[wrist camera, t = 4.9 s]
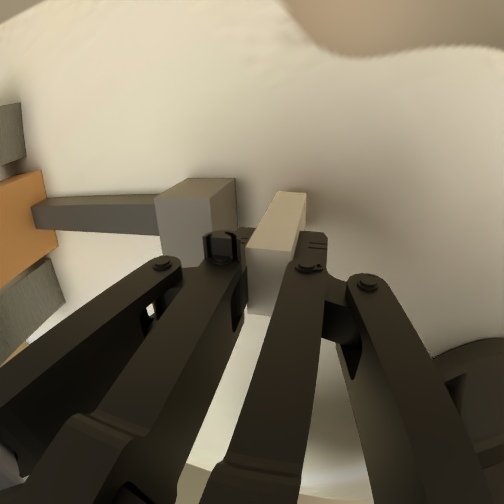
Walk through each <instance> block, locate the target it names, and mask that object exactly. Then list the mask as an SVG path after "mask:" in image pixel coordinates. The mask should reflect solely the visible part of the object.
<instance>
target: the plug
mask: <svg viewBox="0 0 504 504" xmlns="http://www.w3.org/2000/svg"><path fill="white" fill-rule="evenodd" d="M54 230H63V231H82V232H101V233H119V234H137V235H154V236H160V241H161V246H162V252H163V256H165V255H168V256H174V257H177V258H179V260H180V261H181V265H182V268H187V267H198V266H199V265H200V263H201V262H202V261H203V259H204V249H203V239H202V236H204V235H205V234H207V233H209V232H212V231H218V230H229V231H234V232H235V231H237V230H238V229H237V212H236V195H235V178H187V179H185V180H184V181H182V182H180V183H178V184H177V185H175V186H173V187H172V188H170V189H168V190H167V191H165V192H163V193H162V194H139V195H103V196H79V197H60V198H46V193H45V188H44V183H43V178H42V172H41V171H35V172H30V173H24V174H19V175H14V176H11V177H9V178H7V179H4V180H2V181H0V288H1V287H3V286H4V285H5V284H7V283H8V282H9V281H10V280H12V279H13V278H14V277H16V276H17V275H18V274H20V273H21V272H22V271H24V270H25V269H26V268H28V267H29V266H31V265H32V264H33V263H35V262H36V261H38V260H39V259H40V258H42V257H43V256H45V255H46V254H48V253H49V252H50V251H52V250H53V249H55V248H56V247H58V242H57V239H56V235H55V231H54Z"/></svg>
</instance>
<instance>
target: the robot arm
mask: <svg viewBox="0 0 504 504" xmlns="http://www.w3.org/2000/svg"><path fill="white" fill-rule="evenodd" d="M306 196H307V193H299V192H283V191H277V193H276V195H275V196H274V198H273V200H272V202H271V203H270V205H269V207H268V209H267V210H266V212H265V214H264V215H263V217H262V219H261V221H260V222H259V224H258V226H257V228H246V227H242V228H240V229H238V230H237V231H235V232H234V231H229V230H218V231H212V232H209V233H207V234H205V235H204V236H202V239H203V249H204V259H203V261H202V262H201V263H200V265H199V266H198V267H187V268H182V265H181V261H180V260H179V258H177V257H174V256H168V255H165V256H159V257H157V258H154V259H152V260H150V261H148V262H147V263H145V264H143V265H142V266H140V267H139V268H137V269H136V270H134V271H133V272H131V273H130V274H128V275H127V276H126V277H124V278H123V279H121V280H120V281H118V282H117V283H115V284H114V285H112V286H111V287H109V288H108V289H106V290H105V291H104V292H102V293H101V294H99V295H98V296H96V297H95V298H93V299H92V300H91V301H89V302H88V303H86V304H85V305H83V306H82V307H81V308H79V309H78V310H76V311H75V312H74V313H72V314H71V315H69V316H68V317H67V318H65V319H64V320H62V321H61V322H60V323H58V324H57V325H56V326H54V327H53V328H51V329H50V330H49V331H47V332H46V333H45V334H43V335H42V336H41V337H39V338H38V339H37V340H35V341H34V342H33V343H31V344H30V345H29V346H27V347H26V348H25V349H23V350H22V351H21V352H19V353H18V354H17V355H16V356H14V357H13V358H12V359H10V360H9V361H8V362H6V363H5V364H4V365H3V366H1V367H0V504H175V502H176V497H177V483H178V479H179V477H180V474H181V472H182V470H183V468H184V465H185V463H186V461H187V458H188V456H189V454H190V451H191V449H192V447H193V444H194V442H195V440H196V437H197V435H198V433H199V430H200V428H201V426H202V423H203V421H204V418H205V416H206V414H207V411H208V409H209V407H210V404H211V402H212V399H213V397H214V395H215V392H216V390H217V387H218V385H219V382H220V380H221V378H222V375H223V373H224V370H225V368H226V365H227V363H228V361H229V358H230V356H231V353H232V351H233V348H234V346H235V343H236V341H237V338H238V336H239V333H240V331H241V328H242V326H243V324H244V309H245V307H246V304H247V307H248V314H256V315H264V316H271V320H270V323H269V326H268V329H267V333H266V336H265V339H264V342H263V345H262V349H261V352H260V355H259V358H258V361H257V364H256V367H255V370H254V373H253V377H252V380H251V383H250V386H249V389H248V392H247V395H246V398H245V401H244V404H243V407H242V410H241V413H240V416H239V418H238V421H237V424H236V427H235V430H234V433H233V436H232V439H231V442H230V444H229V447H228V450H227V453H226V455H225V457H224V459H223V460H222V461H221V462H219V463H217V464H216V466H215V467H214V469H213V470H212V472H211V475H210V477H209V479H208V481H207V484H206V487H205V489H204V492H203V494H202V497H201V499H200V502H199V504H297V500H298V495H299V490H300V485H301V474H302V468H303V462H304V457H305V451H306V446H307V440H308V434H309V428H310V421H311V415H312V408H313V401H314V394H315V386H316V379H317V371H318V362H319V353H320V344H321V338H324V339H327V340H330V341H333V342H336V350H337V353H338V357H339V360H340V364H341V367H342V371H343V375H344V378H345V382H346V386H347V389H348V393H349V397H350V401H351V405H352V409H353V412H354V416H355V420H356V424H357V428H358V432H359V437H360V441H361V445H362V449H363V453H364V458H365V462H366V467H367V471H368V476H369V480H370V485H371V490H372V494H373V499H374V504H504V339H487V340H481V341H477V342H473V343H470V344H466V345H463V346H461V347H458V348H456V349H453V350H451V351H449V352H446V353H444V354H442V355H440V356H439V357H437V358H435V359H433V360H432V359H431V358H430V356H429V354H428V352H427V350H426V348H425V347H424V345H423V343H422V341H421V339H420V338H419V336H418V334H417V332H416V331H415V329H414V327H413V325H412V324H411V322H410V320H409V319H408V317H407V315H406V314H405V312H404V310H403V309H402V307H401V305H400V304H399V302H398V300H397V299H396V297H395V295H394V294H393V292H392V291H391V289H390V287H389V286H388V284H387V283H386V282H385V281H384V280H383V279H382V278H380V277H378V276H376V275H373V274H368V273H367V274H364V273H361V274H355V275H353V276H351V277H349V279H348V281H347V282H344V281H341V280H338V279H336V278H334V277H332V276H331V275H330V274H329V273H328V271H327V269H326V262H327V242H328V238H327V237H326V235H325V234H324V233H322V232H310V231H305V221H306ZM151 303H152V304H153V308H154V312H155V313H154V314H152V315H151V316H149V315H148V313H147V309H146V307H147V306H149V305H150V304H151ZM28 475H29V477H28V478H27V480H26V481H24V480H23V477H26V476H28Z"/></svg>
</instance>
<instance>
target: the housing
mask: <svg viewBox="0 0 504 504" xmlns="http://www.w3.org/2000/svg"><path fill="white" fill-rule="evenodd" d="M23 157H26V152H25V145H24V137H23V128H22V118H21V105H20V103H15V104H10V105H5V106H0V166H2V165H4V164H7V163H9V162H12V161H15V160H18V159H20V158H23ZM64 303H65V300H64V297H63V294H62V292H61V289H60V286H59V284H58V281H57V278H56V275H55V272H54V269H53V266H52V263H51V260H50V259H47V258H40V259H39V260H38V261H36V262H35V263H33V264H32V265H31V266H29V267H28V268H26V269H25V270H24V271H22V272H21V273H20V274H18V275H17V276H16V277H14V278H13V279H12V280H10V281H9V282H8V283H7V284H5V285H4V286H3V287H1V288H0V366H1V365H2V364H3V363H4V362H5V361H6V360H7V359H8V358H9V357H10V356H11V355H12V353H13V352H14V351H15V350H16V349H17V348H18V347H19V346H20V345H21V344H22V343H23V342H24V341H25V340H26V339H27V338H28V337H29V336H30V335H31V334H32V333H34V332H35V331H36V330H37V329H38V328H39V327H40V326H41V325H42V324H43V323H44V322H45V321H46V320H47V319H48V318H49V317H50V316H51V315H52V314H53V313H54V312H56V311H57V310H58V309H59V308H60V307H61V306H62V305H63V304H64Z"/></svg>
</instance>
